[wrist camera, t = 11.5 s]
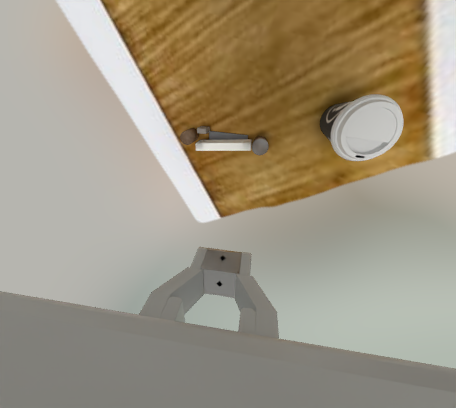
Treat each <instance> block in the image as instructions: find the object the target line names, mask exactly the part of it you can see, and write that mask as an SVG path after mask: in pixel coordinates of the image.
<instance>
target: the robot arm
mask: <svg viewBox="0 0 456 408" xmlns="http://www.w3.org/2000/svg"><path fill="white" fill-rule="evenodd" d="M250 269H251V253H245V252H234V251H227V250H219V249H212V248H204V247H199V248H198V250H197V252H196V255H195V257H194V260H193V262H192V264H191V267H190V268H189V267H187V268H186V269H185V270H183V271H182V272H180V273H179V274H177V275H176V276H174V277H173V278H172V279H170V280H169V281H167V282H166V283H164V284H163V285H161V286H160V287H159V288H157V289H155V290H154V291H153V292H151V294H150V296H149V298H148V299H147V301H146V303H145V305H144V307H143V309H142V310H141V312H140V313H139V315H137V314H131V313H125V312H119V311H113V310H107V309H101V308H96V307H90V306H84V305H78V304H72V303H66V302H60V301H54V300H49V299H42V298H37V297H30V296H25V295H19V294H13V293H7V292H1V291H0V408H456V369H455V368H448V367H442V366H437V365H431V364H425V363H419V362H412V361H407V360H402V359H396V358H390V357H384V356H378V355H372V354H366V353H360V352H354V351H349V350H343V349H337V348H331V347H324V346H319V345H313V344H308V343H302V342H296V341H290V340H284V339H279V335H278V321H277V311H276V310H275V309H274V307H273V306H272V304H271V303H270V301H269V300H268V298H267V297H266V295H265V294H264V293H263V291H262V289H261V288H260V286H259V285H258V283H257V282H256V280H255V279H254V277H252V276H250ZM204 293H205V294H213V295H221V296H226V297H232V298H235V301H236V303H237V305H238V308H239V310H240V321H239V331H238V332H236V331H230V330H224V329H218V328H213V327H207V326H201V325H195V324H189V323H185V318H184V315H185V313H186V312H187V311H188V310H189V309H190V308H191V307H192V306H193V305H194V304H195V303H196V302H197V301H198V300H199V299H200V298H201V297H202V296H203V295H204Z"/></svg>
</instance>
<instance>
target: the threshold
mask: <svg viewBox="0 0 456 408" xmlns="http://www.w3.org/2000/svg"><path fill="white" fill-rule="evenodd" d="M236 139H248V135H241V134H232V133H223V132H214V131H209V140H236Z"/></svg>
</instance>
